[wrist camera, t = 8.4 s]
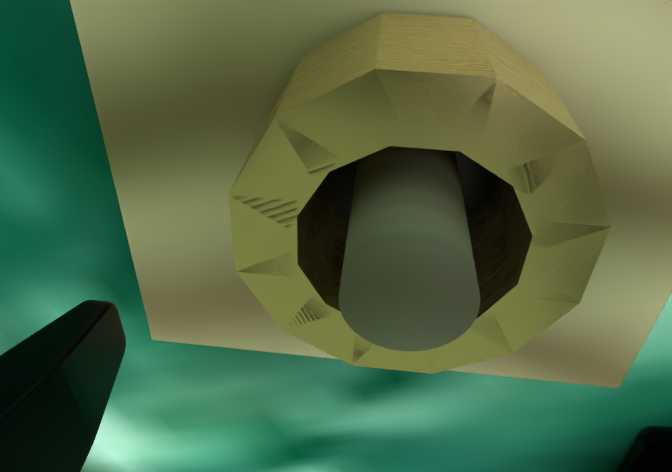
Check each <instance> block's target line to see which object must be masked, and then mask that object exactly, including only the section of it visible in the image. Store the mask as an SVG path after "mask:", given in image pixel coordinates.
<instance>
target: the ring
mask: <svg viewBox="0 0 672 472" xmlns="http://www.w3.org/2000/svg"><path fill="white" fill-rule="evenodd" d="M389 146H397V147H410V148H423V149H436V150H449V151H460V152H462V153H463V154H465V155H466V156H468V157H469V158H471V159H472V160H474V161H475V162H477V163H478V164H480V165H481V166H483V167H485V168H486V169H488V170H489V171H491V172H492V173H494V174H495V175H497V180H496V184H495V188H494V192H493V193H492V194H491V195H490V196H489V197H488V198H487V199H486V200H485V201H484V202H483V203H482V204H481V205H480V206H479V207H478V208H477V209H476V210H475V211H474V212H473V213H472V214H471V216H470V217H469V218H468V219H467V223H468V229H469V234H470V240H471V246H472V252H473V257H474V263H475V269H476V275H477V280H478V286H479V292H480V308H479V312H478V315H477V317H476V319H475V321H474V322H473V324H472V325H471V326H470V328H469V329H468V330H467V331H466V332H465V333H464V334H462V335H461V336H460V337H458V338H457V339H455V340H454V341H452V342H450V343H448V344H445V345H443V346H440V347H437V348H434V349H429V350H423V351H398V350H391V349H387V348H383V347H380V346H378V345H375V344H373V343H371V342H369V341H367V340H365V339H363V338H362V337H360V336H359V335H358V334H357V333H355V332H354V331H353V330H352V329H351V328H350V327H349V325H348V324H347V323H346V321H345V320H344V318H343V316H342V313H341V311H340V307H339V290H340V283H341V276H342V269H343V262H344V255H345V247H346V240H347V233H348V226H349V219H350V218H348V217H346V216H344V215H343V214H341V213H340V211H339V210H338V208H337V207H336V205H335V203H334V202H333V200H332V198H331V197H330V195H329V193H328V192H327V190H326V188H325V187H324V185H323V184H322V181H323V180H324V178H325V177H326V176H327V174H328V173H329V172H330V171H332V170H334V169H337V168H339V167H341V166H344V165H346V164H349V163H351V162H353V161H356V160H358V159H360V158H363V157H365V156H367V155H370V154H372V153H375V152H377V151H379V150H382V149H384V148H386V147H389ZM228 198H229V208H230V218H231V228H232V238H233V248H234V257H235V267H236V272H237V274H238V275H239V276H240V277H241V279H242V280H243V281H244V283H245V284H246V285H247V286H248V288H249V289H250V290H251V291H252V293H253V294H254V295H255V296H256V298H257V299H258V300H259V302H260V303H261V304H262V305H263V307H264V308H265V309H266V310H267V312H268V313H269V314H270V316H271V317H272V318H273V319H274V321H275V322H276V323H277V324H278V326H279V327H280V328H281V329H282V331H284V332H286V333H288V334H290V335H292V336H294V337H296V338H298V339H300V340H302V341H304V342H306V343H308V344H310V345H312V346H314V347H316V348H318V349H320V350H322V351H324V352H326V353H328V354H330V355H332V356H334V357H336V358H338V359H340V360H342V361H344V362H346V363H348V364H350V365H352V366H362V367H372V368H382V369H391V370H401V371H411V372H421V373H431V374H434V373H437V372H441V371H445V370H449V369H453V368H457V367H461V366H465V365H469V364H473V363H477V362H481V361H485V360H489V359H493V358H497V357H501V356H505V355H509V354H513V353H514V352H516V351H517V350H518V349H520V348H521V347H522V346H524V345H525V344H526V343H528V342H529V341H530V340H532V339H533V338H534V337H536V336H537V335H538V334H540V333H541V332H542V331H544V330H545V329H546V328H548V327H549V326H550V325H551V324H553V323H554V322H555V321H557V320H558V319H559V318H561V317H562V316H563V315H565V314H566V313H567V312H569V311H570V310H571V309H573V308H574V307H575V306H577V305H578V304H579V303H580V301H581V299H582V296H583V294H584V291H585V289H586V287H587V284H588V282H589V279H590V277H591V275H592V272H593V270H594V267H595V265H596V263H597V260H598V258H599V255H600V253H601V251H602V248H603V246H604V243H605V241H606V239H607V236H608V234H609V231H610V229H611V224H610V221H609V217H608V214H607V211H606V207H605V204H604V200H603V197H602V193H601V190H600V187H599V183H598V180H597V176H596V173H595V169H594V166H593V163H592V159H591V156H590V152H589V149H588V145H587V142H586V140H585V138H584V136H583V135H582V133H581V132H580V130H579V128H578V127H577V125H576V124H575V122H574V120H573V119H572V117H571V116H570V114H569V112H568V111H567V109H566V108H565V106H564V104H563V103H562V101H561V100H560V98H559V96H558V95H557V93H556V92H555V90H554V88H553V87H552V85H551V84H550V82H549V80H548V79H547V77H546V76H545V74H544V72H543V71H542V69H541V68H540V67H538V66H537V65H536V64H534V63H533V62H531V61H530V60H529V59H527V58H526V57H525V56H523V55H522V54H521V53H519V52H518V51H517V50H515V49H514V48H512V47H511V46H510V45H508V44H507V43H506V42H504V41H503V40H502V39H500V38H499V37H498V36H496V35H495V34H494V33H492V32H491V31H489V30H488V29H487V28H485V27H484V26H483V25H481V24H480V23H479V22H477V21H476V20H475V19H473V18H460V17H444V16H427V15H411V14H395V13H381V14H379V15H377V16H375V17H373V18H371V19H369V20H367V21H365V22H364V23H362V24H360V25H358V26H356V27H354V28H352V29H350V30H348V31H346V32H344V33H342V34H340V35H339V36H337V37H335V38H333V39H331V40H329V41H327V42H325V43H323V44H321V45H319V46H317V47H316V48H314V49H312V50H310V51H308V52H306V53H305V54H304V56H303V57H302V59H301V61H300V63H299V64H298V66H297V68H296V69H295V71H294V73H293V74H292V76H291V78H290V79H289V81H288V83H287V85H286V86H285V88H284V90H283V91H282V93H281V95H280V96H279V98H278V100H277V102H276V103H275V105H274V107H273V108H272V110H271V112H270V113H269V115H268V117H267V118H266V120H265V122H264V124H263V126H262V128H261V130H260V132H259V134H258V136H257V138H256V140H255V142H254V144H253V146H252V148H251V150H250V152H249V154H248V156H247V158H246V160H245V162H244V164H243V166H242V168H241V170H240V172H239V174H238V176H237V178H236V180H235V182H234V184H233V186H232V188H231V190H230V192H229V194H228Z"/></svg>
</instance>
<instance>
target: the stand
mask: <svg viewBox="0 0 672 472" xmlns="http://www.w3.org/2000/svg"><path fill="white" fill-rule="evenodd" d="M70 3H71V7H72V11H73V15H74V19H75V23H76V28H77V32H78V36H79V40H80V44H81V48H82V52H83V57H84V61H85V65H86V69H87V73H88V77H89V81H90V85H91V90H92V94H93V98H94V102H95V106H96V110H97V114H98V118H99V123H100V127H101V131H102V135H103V139H104V143H105V147H106V151H107V156H108V160H109V164H110V168H111V172H112V176H113V180H114V184H115V189H116V193H117V197H118V201H119V205H120V209H121V213H122V217H123V222H124V226H125V230H126V234H127V238H128V242H129V246H130V250H131V255H132V259H133V263H134V267H135V271H136V275H137V279H138V283H139V288H140V292H141V296H142V300H143V304H144V308H145V312H146V317H147V321H148V325H149V329H150V333H151V337H152V340H158V341H168V342H178V343H187V344H197V345H207V346H216V347H226V348H236V349H246V350H255V351H265V352H275V353H284V354H294V355H304V356H313V357H323V358H333V359H338V358H336V357H334V356H332V355H330V354H328V353H326V352H324V351H322V350H320V349H318V348H316V347H314V346H312V345H310V344H308V343H306V342H304V341H302V340H300V339H298V338H296V337H294V336H292V335H290V334H288V333H286V332H284V331H282V329H281V328H280V327H279V326H278V324H277V323H276V322H275V321H274V319H273V318H272V317H271V316H270V314H269V313H268V312H267V310H266V309H265V308H264V307H263V305H262V304H261V303H260V302H259V300H258V299H257V298H256V296H255V295H254V294H253V293H252V291H251V290H250V289H249V288H248V286H247V285H246V284H245V283H244V281H243V280H242V279H241V277H240V276H239V275H238V274H237V272H236V267H235V257H234V248H233V238H232V228H231V218H230V208H229V198H228V194H229V192H230V190H231V188H232V186H233V184H234V182H235V180H236V178H237V176H238V174H239V172H240V170H241V168H242V166H243V164H244V162H245V160H246V158H247V156H248V154H249V152H250V150H251V148H252V146H253V144H254V142H255V140H256V138H257V136H258V134H259V132H260V130H261V128H262V126H263V124H264V122H265V120H266V118H267V117H268V115H269V113H270V112H271V110H272V108H273V107H274V105H275V103H276V102H277V100H278V98H279V96H280V95H281V93H282V91H283V90H284V88H285V86H286V85H287V83H288V81H289V79H290V78H291V76H292V74H293V73H294V71H295V69H296V68H297V66H298V64H299V63H300V61H301V59H302V57H303V56H304V54H305V53H306V52H308V51H310V50H312V49H314V48H316V47H317V46H319V45H321V44H323V43H325V42H327V41H329V40H331V39H333V38H335V37H337V36H339V35H340V34H342V33H344V32H346V31H348V30H350V29H352V28H354V27H356V26H358V25H360V24H362V23H364V22H365V21H367V20H369V19H371V18H373V17H375V16H377V15H379V14H381V13H395V14H411V15H427V16H444V17H460V18H473V19H475V20H476V21H477V22H479V23H480V24H481V25H483V26H484V27H485V28H487V29H488V30H489V31H491V32H492V33H494V34H495V35H496V36H498V37H499V38H500V39H502V40H503V41H504V42H506V43H507V44H508V45H510V46H511V47H512V48H514V49H515V50H517V51H518V52H519V53H521V54H522V55H523V56H525V57H526V58H527V59H529V60H530V61H531V62H533V63H534V64H536V65H537V66H538V67H540V68H541V69H542V71H543V72H544V74H545V76H546V77H547V79H548V80H549V82H550V84H551V85H552V87H553V88H554V90H555V92H556V93H557V95H558V96H559V98H560V100H561V101H562V103H563V104H564V106H565V108H566V109H567V111H568V112H569V114H570V116H571V117H572V119H573V120H574V122H575V124H576V125H577V127H578V128H579V130H580V132H581V133H582V135H583V136H584V138H585V140H586V142H587V145H588V149H589V152H590V156H591V159H592V163H593V166H594V169H595V173H596V176H597V180H598V183H599V187H600V190H601V193H602V197H603V200H604V204H605V207H606V211H607V214H608V217H609V221H610V224H611V229H610V231H609V234H608V236H607V239H606V241H605V243H604V246H603V248H602V251H601V253H600V255H599V258H598V260H597V263H596V265H595V267H594V270H593V272H592V275H591V277H590V279H589V282H588V284H587V287H586V289H585V291H584V294H583V296H582V299H581V301H580V303H579V304H578V305H577V306H575V307H574V308H573V309H571V310H570V311H569V312H567V313H566V314H565V315H563V316H562V317H561V318H559V319H558V320H557V321H555V322H554V323H553V324H551V325H550V326H549V327H548V328H546V329H545V330H544V331H542V332H541V333H540V334H538V335H537V336H536V337H534V338H533V339H532V340H530V341H529V342H528V343H526V344H525V345H524V346H522V347H521V348H520V349H518V350H517V351H516V352H514V353H513V354H509V355H505V356H501V357H497V358H493V359H489V360H485V361H481V362H477V363H473V364H469V365H465V366H461V367H457V368H453V369H449V371H459V372H468V373H478V374H488V375H497V376H507V377H517V378H527V379H536V380H546V381H556V382H565V383H575V384H585V385H594V386H604V387H614V388H619V386H620V385H621V383H622V381H623V379H624V377H625V376H626V374H627V372H628V370H629V368H630V367H631V365H632V363H633V361H634V359H635V358H636V356H637V354H638V352H639V350H640V348H641V347H642V345H643V343H644V341H645V339H646V338H647V336H648V334H649V332H650V330H651V329H652V327H653V325H654V323H655V321H656V319H657V318H658V316H659V314H660V312H661V310H662V309H663V307H664V305H665V303H666V301H667V300H668V298H669V296H670V294H671V292H672V0H70ZM496 180H497V175H495V174H494V173H492V172H491V171H489V170H488V169H486V168H485V167H483V166H481V165H480V164H478V163H477V162H475V161H474V160H472V159H471V158H469V157H468V156H466V155H465V154H463V153H462V152H460V151H449V150H436V149H423V148H410V147H397V146H389V147H386V148H384V149H382V150H379V151H377V152H375V153H372V154H370V155H367V156H365V157H363V158H360V159H358V160H356V161H353V162H351V163H349V164H346V165H344V166H341V167H339V168H337V169H334V170H332V171H330V172H329V173H328V174H327V176H326V177H325V178H324V180H323V181H322V184H323V185H324V187H325V188H326V190H327V192H328V193H329V195H330V197H331V198H332V200H333V202H334V203H335V205H336V207H337V208H338V210H339V211H340V213H341V214H343V215H344V216H346V217H348V218H350V219H349V226H348V233H347V240H346V247H345V255H344V262H343V269H342V276H341V283H340V290H339V307H340V311H341V313H342V316H343V318H344V320H345V321H346V323H347V324H348V325H349V327H350V328H351V329H352V330H353V331H354V332H355V333H357V334H358V335H359V336H360V337H362V338H363V339H365V340H367V341H369V342H371V343H373V344H375V345H378V346H380V347H383V348H387V349H391V350H398V351H423V350H429V349H434V348H437V347H440V346H443V345H445V344H448V343H450V342H452V341H454V340H455V339H457V338H458V337H460V336H461V335H462V334H464V333H465V332H466V331H467V330H468V329H469V328H470V326H471V325H472V324H473V322H474V321H475V319H476V317H477V315H478V312H479V308H480V292H479V286H478V280H477V275H476V269H475V263H474V257H473V252H472V246H471V240H470V234H469V229H468V223H467V219H468V218H469V217H470V216H471V214H472V213H473V212H474V211H475V210H476V209H477V208H478V207H479V206H480V205H481V204H482V203H483V202H484V201H485V200H486V199H487V198H488V197H489V196H490V195H491V194H492V193H493V192H494V188H495V184H496Z"/></svg>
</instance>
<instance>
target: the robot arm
mask: <svg viewBox="0 0 672 472" xmlns="http://www.w3.org/2000/svg"><path fill="white" fill-rule="evenodd" d="M125 348H126V338H125V334H124V331H123V327H122V324H121V320H120V317H119V313H118V310H117V307H116V306H115V304H114V303H112V302H108V301H97V300H87V301H84V302H82V303H81V304H79V305H78V306H76V307H74V308H73V309H71V310H70V311H68V312H67V313H65V314H64V315H62V316H60V317H59V318H57V319H56V320H54V321H53V322H51V323H50V324H48V325H47V326H45V327H43V328H42V329H40V330H39V331H37V332H36V333H34V334H33V335H31V336H30V337H28V338H26V339H25V340H23V341H22V342H20V343H19V344H17V345H16V346H14V347H13V348H11V349H9V350H8V351H6V352H5V353H3V354H2V355H0V472H80V471H81V469H82V467H83V465H84V463H85V461H86V458H87V456H88V454H89V452H90V449H91V447H92V445H93V442H94V440H95V437H96V434H97V432H98V429H99V426H100V423H101V420H102V417H103V414H104V411H105V409H106V406H107V403H108V400H109V397H110V394H111V391H112V388H113V385H114V382H115V379H116V376H117V373H118V370H119V368H120V365H121V362H122V359H123V356H124V353H125ZM619 472H672V432H668V431H650V432H647V433H645V434H644V435H643V436H641V438H640V439H639V441H638V443H637V444H636V446H635V447H634V449H633V450H632V452H631V453H630V455H629V456H628V458H627V460H626V461H625V463H624V464H623V466H622V467H621V469H620V470H619Z"/></svg>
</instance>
